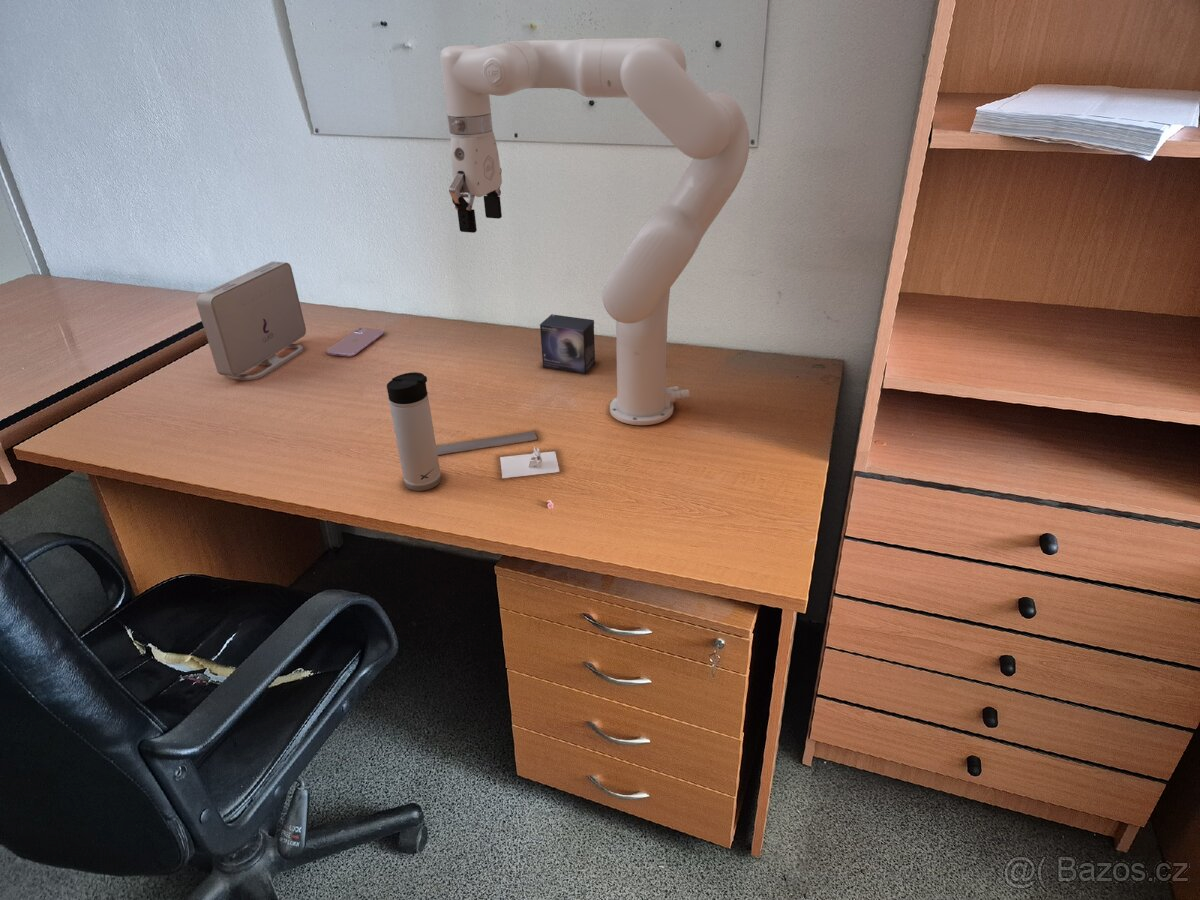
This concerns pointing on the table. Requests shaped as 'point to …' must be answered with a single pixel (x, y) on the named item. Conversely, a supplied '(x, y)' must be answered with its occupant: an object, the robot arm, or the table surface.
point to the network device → (253, 320)
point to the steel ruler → (486, 443)
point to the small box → (568, 343)
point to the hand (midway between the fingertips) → (481, 224)
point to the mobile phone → (355, 342)
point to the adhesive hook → (529, 464)
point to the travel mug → (414, 431)
